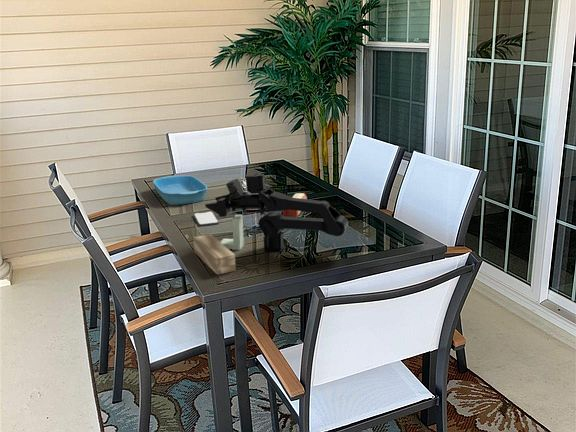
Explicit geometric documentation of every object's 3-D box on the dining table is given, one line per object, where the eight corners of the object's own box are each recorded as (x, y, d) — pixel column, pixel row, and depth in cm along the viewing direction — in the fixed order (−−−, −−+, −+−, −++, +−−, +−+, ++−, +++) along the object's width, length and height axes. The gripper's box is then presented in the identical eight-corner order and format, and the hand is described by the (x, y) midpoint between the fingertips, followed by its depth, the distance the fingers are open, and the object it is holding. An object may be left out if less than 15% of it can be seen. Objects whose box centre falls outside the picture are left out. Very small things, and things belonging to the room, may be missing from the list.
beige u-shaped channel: (211, 248, 217) (210, 234, 215) (235, 270, 196) (234, 254, 194) (194, 251, 214) (193, 237, 212) (217, 274, 193) (216, 258, 192)
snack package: (294, 205, 269) (293, 191, 267) (308, 205, 268) (307, 191, 266) (282, 219, 250) (282, 204, 248) (297, 219, 248) (297, 204, 246)
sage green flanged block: (244, 244, 220) (242, 214, 217) (239, 249, 215) (238, 219, 211) (224, 243, 222) (222, 213, 218) (219, 248, 216) (217, 218, 213)
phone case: (219, 225, 244) (212, 214, 258) (219, 222, 243) (212, 211, 258) (199, 228, 241) (193, 216, 256) (198, 224, 241) (192, 213, 255)
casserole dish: (213, 203, 275) (212, 188, 273) (167, 209, 266) (166, 195, 264) (191, 186, 307) (190, 172, 304) (149, 191, 298) (148, 178, 295)
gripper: (255, 174, 219) (217, 175, 224) (236, 186, 202) (196, 187, 207) (258, 202, 222) (221, 203, 227) (240, 217, 205) (201, 217, 210)
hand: (210, 202), depth 217 cm, fingers open, 9 cm apart
